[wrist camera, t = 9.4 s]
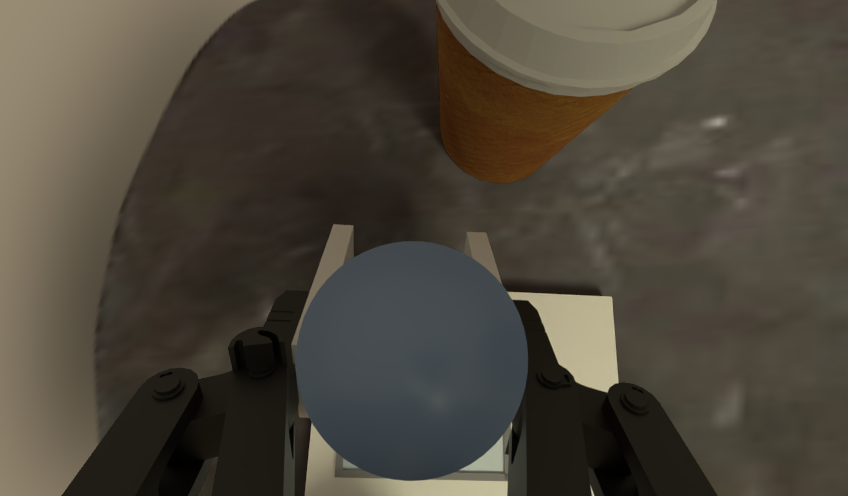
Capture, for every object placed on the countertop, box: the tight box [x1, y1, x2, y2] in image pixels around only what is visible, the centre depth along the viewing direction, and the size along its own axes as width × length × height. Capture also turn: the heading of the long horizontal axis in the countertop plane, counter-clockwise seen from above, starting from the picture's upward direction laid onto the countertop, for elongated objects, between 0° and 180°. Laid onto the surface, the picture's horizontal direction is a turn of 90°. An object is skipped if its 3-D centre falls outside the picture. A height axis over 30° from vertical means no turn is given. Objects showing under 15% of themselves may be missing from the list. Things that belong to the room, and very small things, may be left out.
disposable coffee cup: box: [436, 0, 717, 183], centre depth 18 cm, size 10×10×12 cm
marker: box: [296, 241, 528, 481], centre depth 14 cm, size 4×4×12 cm
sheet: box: [305, 292, 618, 496], centre depth 19 cm, size 14×16×1 cm
